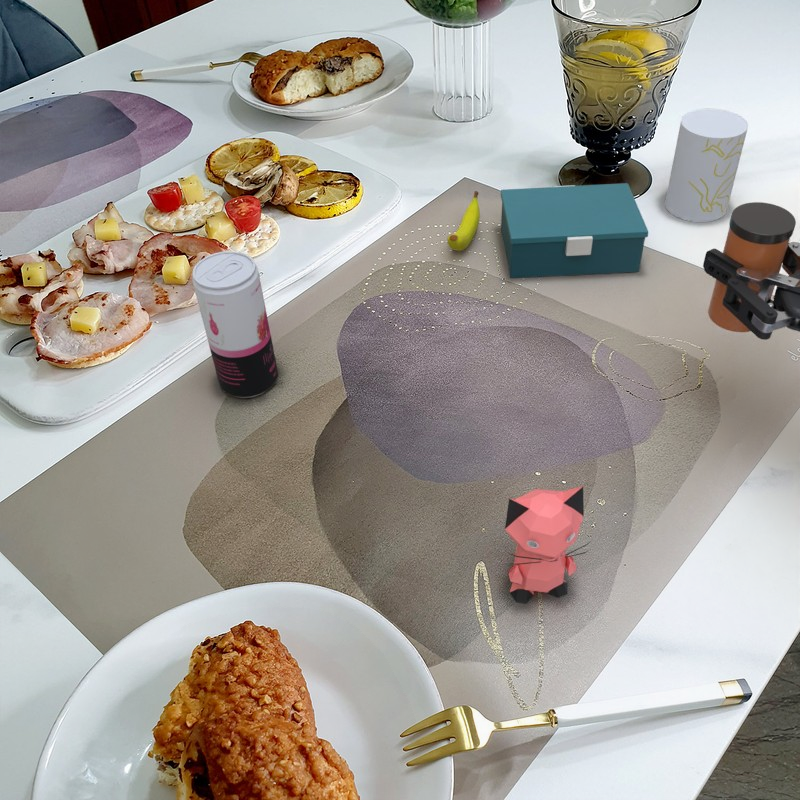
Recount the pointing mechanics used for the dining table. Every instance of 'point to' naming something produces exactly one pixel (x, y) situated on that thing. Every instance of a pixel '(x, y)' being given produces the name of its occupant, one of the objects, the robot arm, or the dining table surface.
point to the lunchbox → (572, 230)
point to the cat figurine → (543, 540)
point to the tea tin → (752, 251)
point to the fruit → (466, 227)
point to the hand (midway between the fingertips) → (729, 247)
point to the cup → (705, 164)
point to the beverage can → (236, 323)
